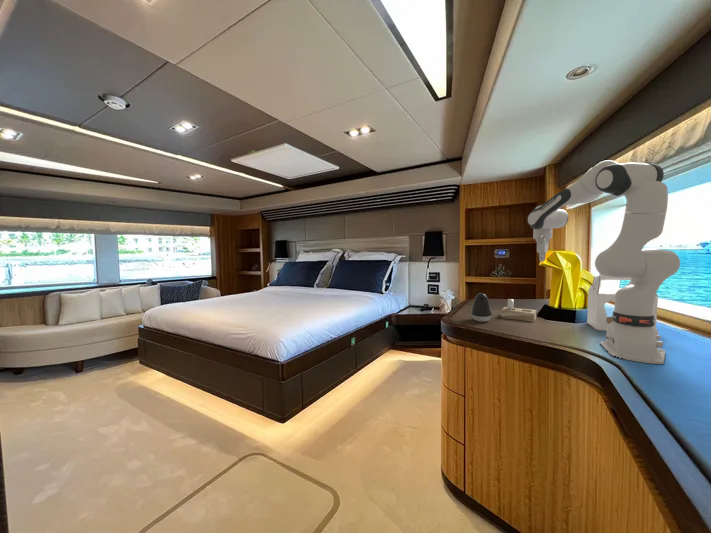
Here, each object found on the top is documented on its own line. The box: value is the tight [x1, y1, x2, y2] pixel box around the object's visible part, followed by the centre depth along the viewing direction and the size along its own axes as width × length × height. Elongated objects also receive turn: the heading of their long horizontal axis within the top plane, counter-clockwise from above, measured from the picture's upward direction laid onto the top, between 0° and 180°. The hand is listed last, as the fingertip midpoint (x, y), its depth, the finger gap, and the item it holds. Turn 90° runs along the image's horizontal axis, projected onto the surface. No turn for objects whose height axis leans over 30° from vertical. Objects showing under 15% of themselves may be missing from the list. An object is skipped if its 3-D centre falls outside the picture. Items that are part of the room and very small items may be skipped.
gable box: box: [586, 273, 659, 332], centre depth 144 cm, size 22×13×28 cm, turn 68°
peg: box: [507, 298, 515, 310], centre depth 170 cm, size 3×3×10 cm
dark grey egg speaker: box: [470, 292, 493, 323], centre depth 163 cm, size 10×10×15 cm
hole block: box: [500, 306, 537, 322], centre depth 167 cm, size 9×16×4 cm, turn 53°
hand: (542, 261), depth 163 cm, fingers open, 8 cm apart
